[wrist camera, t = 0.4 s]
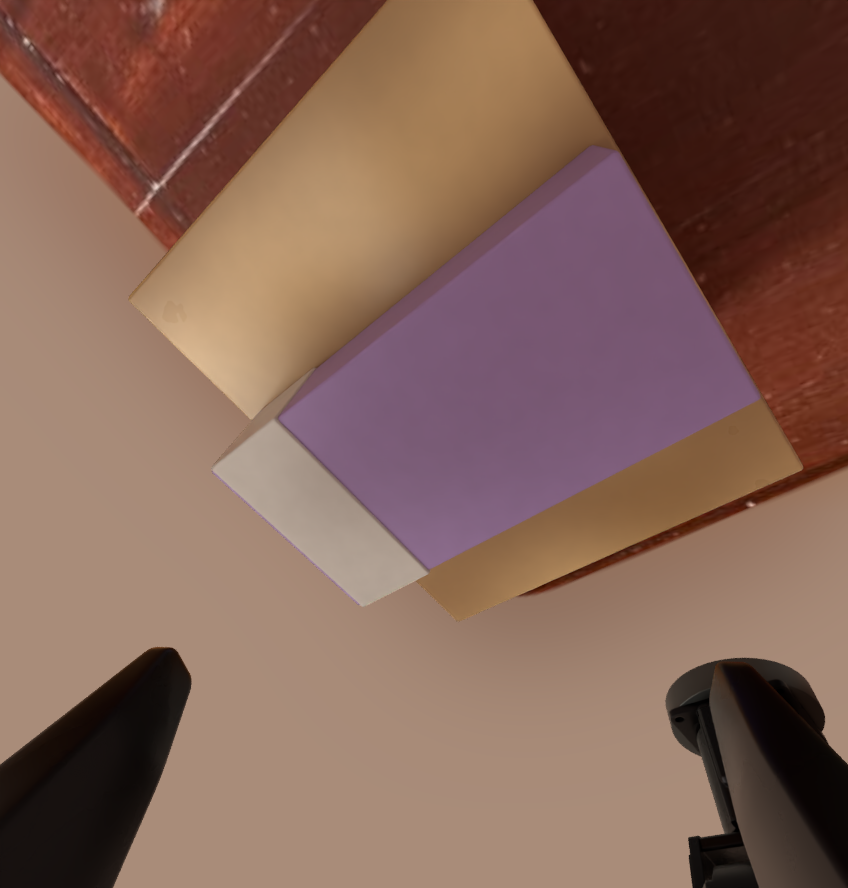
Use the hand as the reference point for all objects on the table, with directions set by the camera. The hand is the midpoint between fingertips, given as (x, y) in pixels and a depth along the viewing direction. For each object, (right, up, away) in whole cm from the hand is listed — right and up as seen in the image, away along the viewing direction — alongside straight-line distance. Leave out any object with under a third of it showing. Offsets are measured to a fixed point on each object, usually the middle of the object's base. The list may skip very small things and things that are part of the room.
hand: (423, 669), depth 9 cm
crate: (+2, +10, +11) cm, 14 cm away
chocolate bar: (+1, +5, +3) cm, 6 cm away
